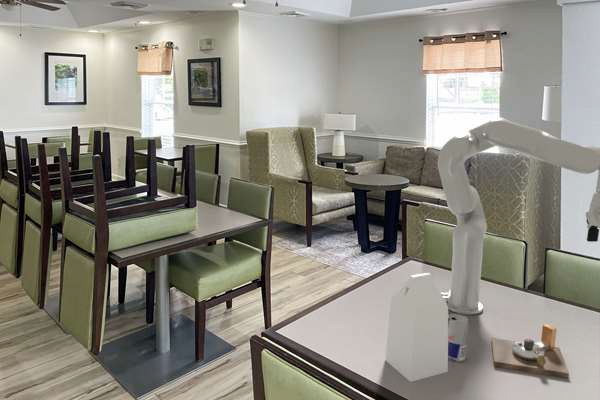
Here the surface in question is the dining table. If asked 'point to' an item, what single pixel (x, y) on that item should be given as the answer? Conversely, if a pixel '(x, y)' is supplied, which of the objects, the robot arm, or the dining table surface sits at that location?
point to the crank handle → (537, 344)
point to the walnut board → (545, 363)
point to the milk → (418, 329)
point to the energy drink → (457, 337)
